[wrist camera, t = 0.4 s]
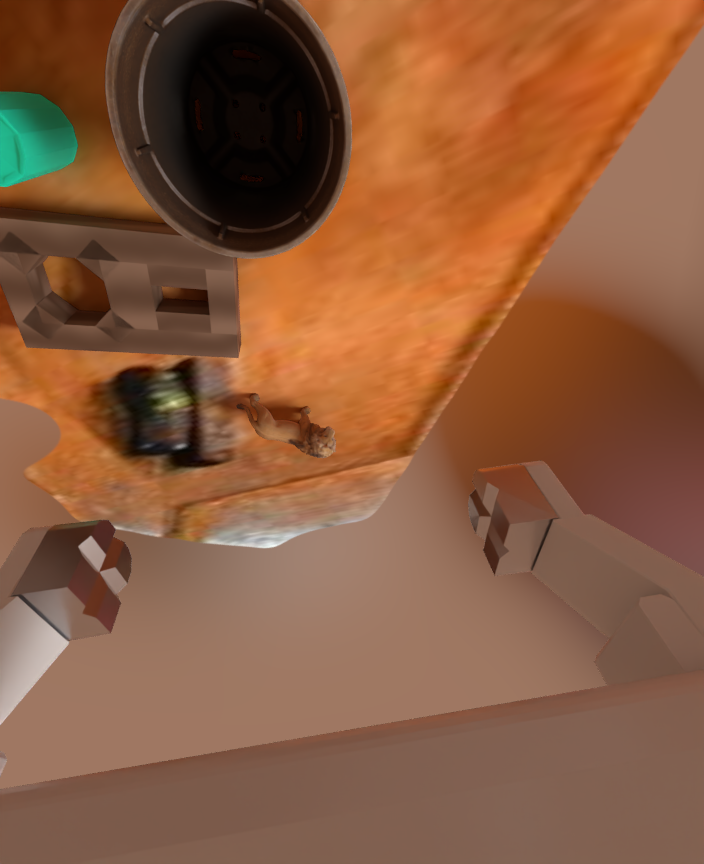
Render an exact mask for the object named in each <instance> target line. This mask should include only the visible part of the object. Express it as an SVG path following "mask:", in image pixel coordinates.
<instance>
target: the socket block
mask: <svg viewBox="0 0 704 864" xmlns="http://www.w3.org/2000/svg"><path fill="white" fill-rule="evenodd" d="M48 256H58V257H70V258H76V259H77V260H78V261H80V262H81V263H82V264H83V265H85V266H86V267H87V268H88V269H90V270H91V271H92V272H93V273H95V274H96V275H97V276H98V277H99V278H101V279H102V280H103V281H104V283H105V287H106V291H107V295H108V299H109V303H110V307H111V308H110V309H109V310H108V311H107V312H95V311H79V310H77V309H76V308H74V307H73V306H72V305H70V304H69V303H68V302H66V301H65V300H63V299H62V298H61V297H59V296H58V295H57V294H55V293H54V292H53V291H52V290H51V287H50V284H49V281H48V278H47V275H46V272H45V269H44V266H43V262H44V261H45V260H46V258H47V257H48ZM0 284H1V286H2V289H3V291H4V294H5V296H6V299H7V301H8V304H9V306H10V308H11V311H12V313H13V316H14V318H15V321H16V323H17V325H18V328H19V330H20V333H21V335H22V338H23V340H24V343H25V345H26V347H28V348H48V349H68V350H88V351H109V352H129V353H149V354H169V355H190V356H210V357H230V358H238V357H239V352H240V346H241V333H240V312H239V291H238V270H237V257H230V256H225V255H222V254H218V253H215V252H212V251H210V250H207V249H205V248H203V247H201V246H199V245H197V244H195V243H193V242H192V241H190V240H189V239H187V238H185V237H184V236H182V235H181V234H180V233H178V232H177V231H176V230H175V229H173V228H172V227H171V226H170V225H168V224H160V223H150V222H141V221H131V220H121V219H111V218H102V217H92V216H82V215H72V214H63V213H53V212H43V211H33V210H24V209H14V208H4V207H0ZM161 286H163V287H176V288H189V289H202V290H207V291H208V302H207V301H193V300H180V299H166V298H163V293H162V287H161Z"/></svg>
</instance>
